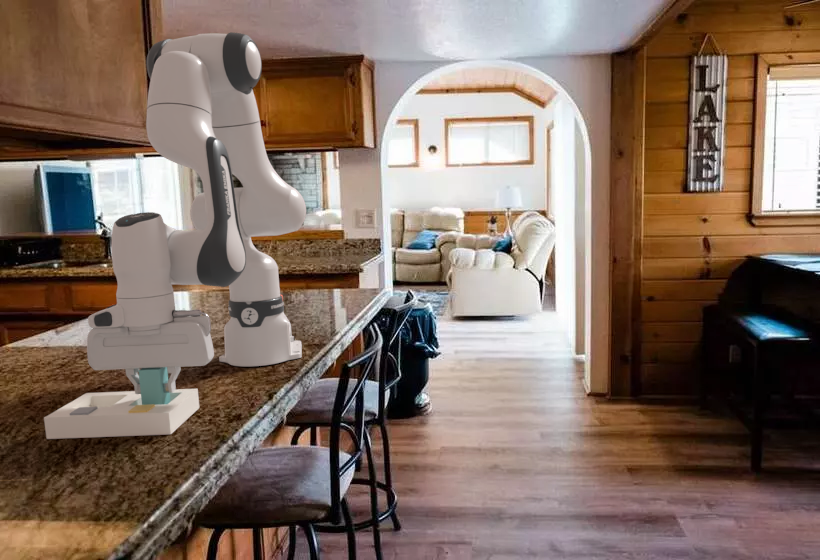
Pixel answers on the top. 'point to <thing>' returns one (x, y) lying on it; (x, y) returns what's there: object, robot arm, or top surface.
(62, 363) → the top surface
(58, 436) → the socket block
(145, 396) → the plug
